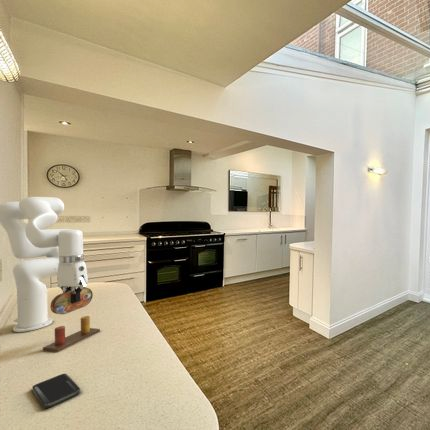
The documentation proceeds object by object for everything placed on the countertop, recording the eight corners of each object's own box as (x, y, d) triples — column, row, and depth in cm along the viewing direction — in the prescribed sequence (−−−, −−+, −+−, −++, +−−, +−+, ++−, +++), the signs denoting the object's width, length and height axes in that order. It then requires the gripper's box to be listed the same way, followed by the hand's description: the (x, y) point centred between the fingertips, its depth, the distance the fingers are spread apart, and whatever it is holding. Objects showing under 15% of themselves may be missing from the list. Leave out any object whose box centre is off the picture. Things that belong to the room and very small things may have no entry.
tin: (54, 317, 104) (55, 297, 104) (48, 316, 105) (48, 296, 104) (93, 303, 119) (93, 285, 119) (87, 303, 119) (87, 284, 119)
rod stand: (42, 350, 104) (42, 331, 104) (86, 330, 121) (86, 313, 121) (57, 351, 103) (57, 332, 103) (99, 331, 120) (99, 314, 120)
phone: (45, 406, 74) (31, 385, 82) (45, 409, 74) (31, 389, 82) (81, 389, 81) (65, 372, 89) (81, 393, 81) (65, 375, 89)
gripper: (96, 258, 114) (97, 300, 114) (64, 256, 116) (65, 297, 116) (78, 261, 106) (79, 306, 107) (44, 260, 108) (46, 304, 109)
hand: (72, 301), depth 112 cm, fingers closed on tin, 2 cm apart
